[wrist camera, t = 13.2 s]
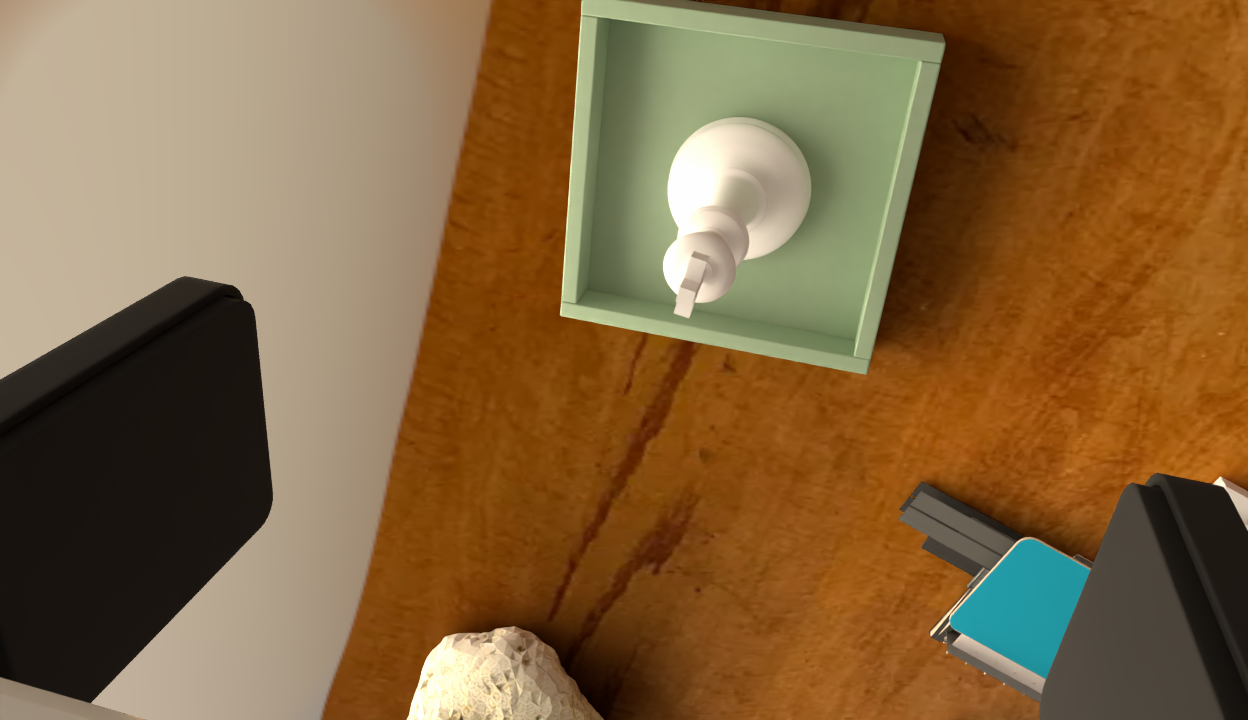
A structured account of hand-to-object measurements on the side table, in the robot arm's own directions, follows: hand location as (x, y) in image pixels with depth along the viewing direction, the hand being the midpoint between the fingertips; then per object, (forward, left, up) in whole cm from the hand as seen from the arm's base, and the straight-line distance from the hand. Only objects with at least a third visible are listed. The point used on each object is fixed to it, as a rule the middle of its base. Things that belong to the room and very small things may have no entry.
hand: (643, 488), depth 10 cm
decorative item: (+32, -9, -25) cm, 41 cm away
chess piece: (+4, -2, -24) cm, 25 cm away
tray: (+4, -2, -25) cm, 25 cm away
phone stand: (+18, +16, -25) cm, 35 cm away
